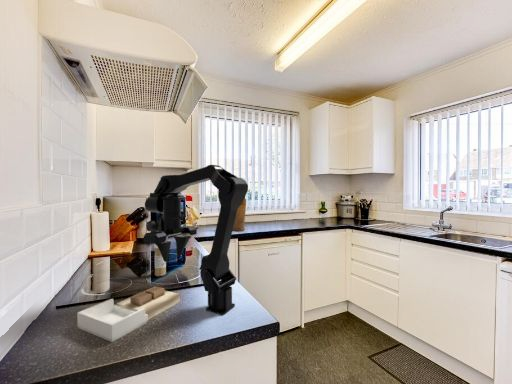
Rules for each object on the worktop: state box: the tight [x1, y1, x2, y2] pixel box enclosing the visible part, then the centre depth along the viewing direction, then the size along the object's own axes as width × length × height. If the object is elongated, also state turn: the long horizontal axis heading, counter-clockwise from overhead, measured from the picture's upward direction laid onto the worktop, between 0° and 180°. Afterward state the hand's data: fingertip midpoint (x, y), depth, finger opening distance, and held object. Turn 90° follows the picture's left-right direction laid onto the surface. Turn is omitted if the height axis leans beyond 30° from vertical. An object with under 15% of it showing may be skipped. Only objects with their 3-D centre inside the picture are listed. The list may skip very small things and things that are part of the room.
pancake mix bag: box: [233, 198, 247, 232], centre depth 215 cm, size 7×19×28 cm, turn 96°
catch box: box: [76, 298, 149, 343], centre depth 66 cm, size 14×10×4 cm
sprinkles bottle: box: [153, 244, 167, 277], centre depth 106 cm, size 5×5×14 cm
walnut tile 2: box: [144, 286, 166, 300], centre depth 78 cm, size 4×4×2 cm
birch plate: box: [116, 290, 181, 321], centre depth 76 cm, size 12×13×2 cm
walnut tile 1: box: [129, 291, 152, 307], centre depth 74 cm, size 4×4×2 cm
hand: (172, 259), depth 85 cm, fingers open, 6 cm apart
